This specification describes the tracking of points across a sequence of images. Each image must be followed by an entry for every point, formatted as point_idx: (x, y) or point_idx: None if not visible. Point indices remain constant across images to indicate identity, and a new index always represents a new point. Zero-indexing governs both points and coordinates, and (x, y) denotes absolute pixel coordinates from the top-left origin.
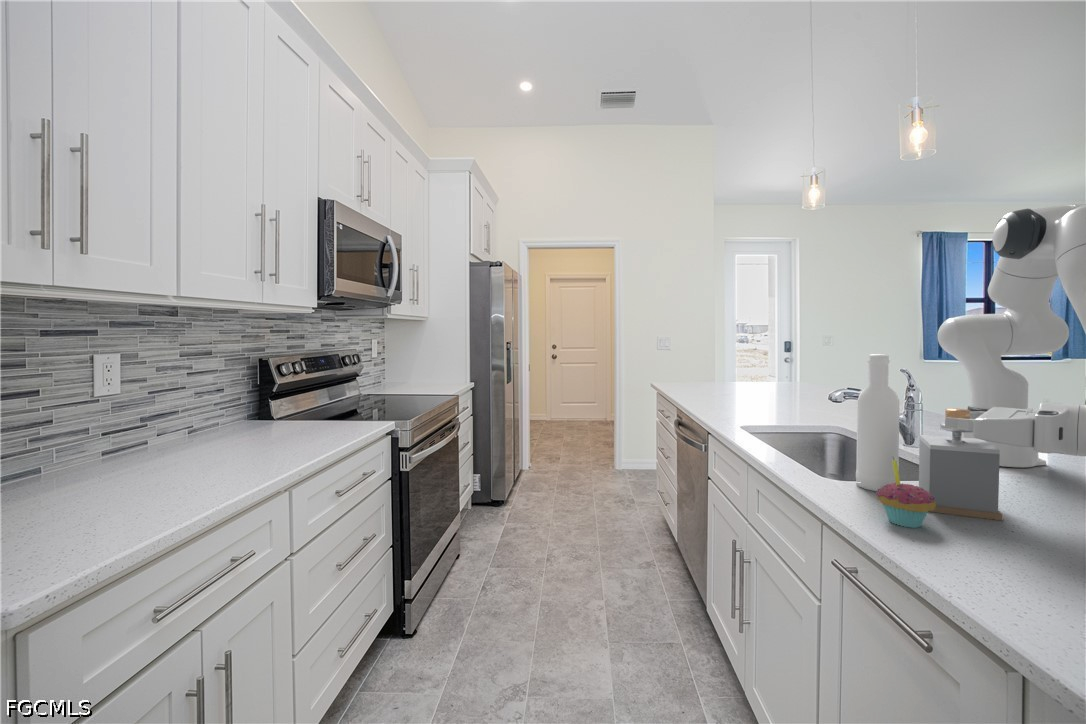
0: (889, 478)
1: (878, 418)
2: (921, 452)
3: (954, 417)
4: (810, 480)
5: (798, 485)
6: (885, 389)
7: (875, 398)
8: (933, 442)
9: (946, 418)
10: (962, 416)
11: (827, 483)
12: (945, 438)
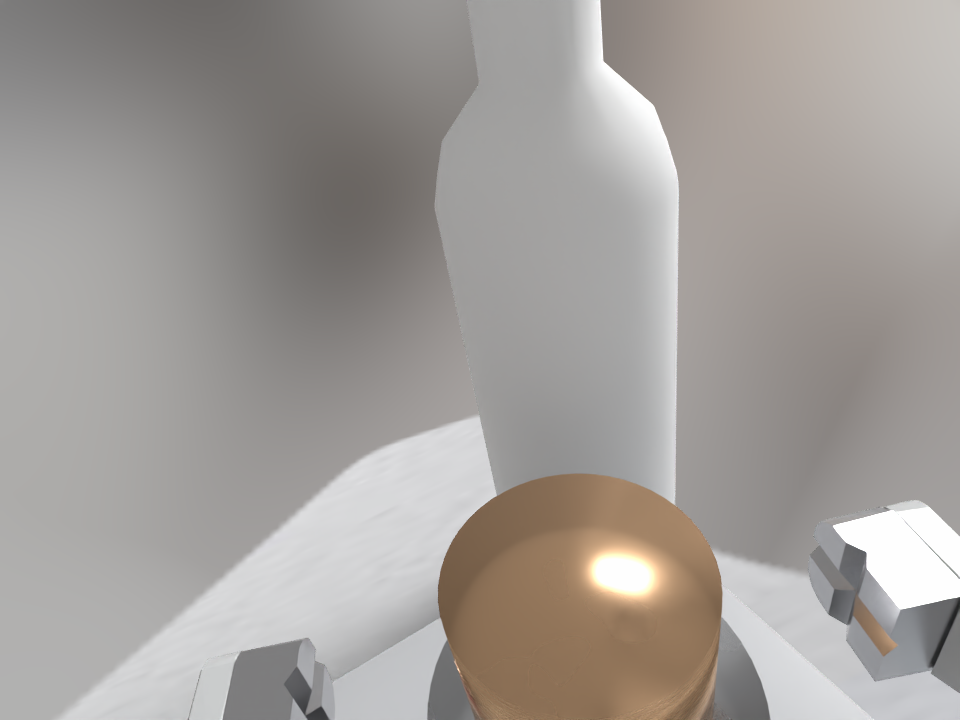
0: None
1: (465, 318)
2: None
3: (275, 706)
4: (460, 440)
5: (373, 456)
6: (502, 117)
7: (439, 186)
8: (405, 681)
9: (209, 663)
10: (486, 717)
11: (472, 477)
12: None
